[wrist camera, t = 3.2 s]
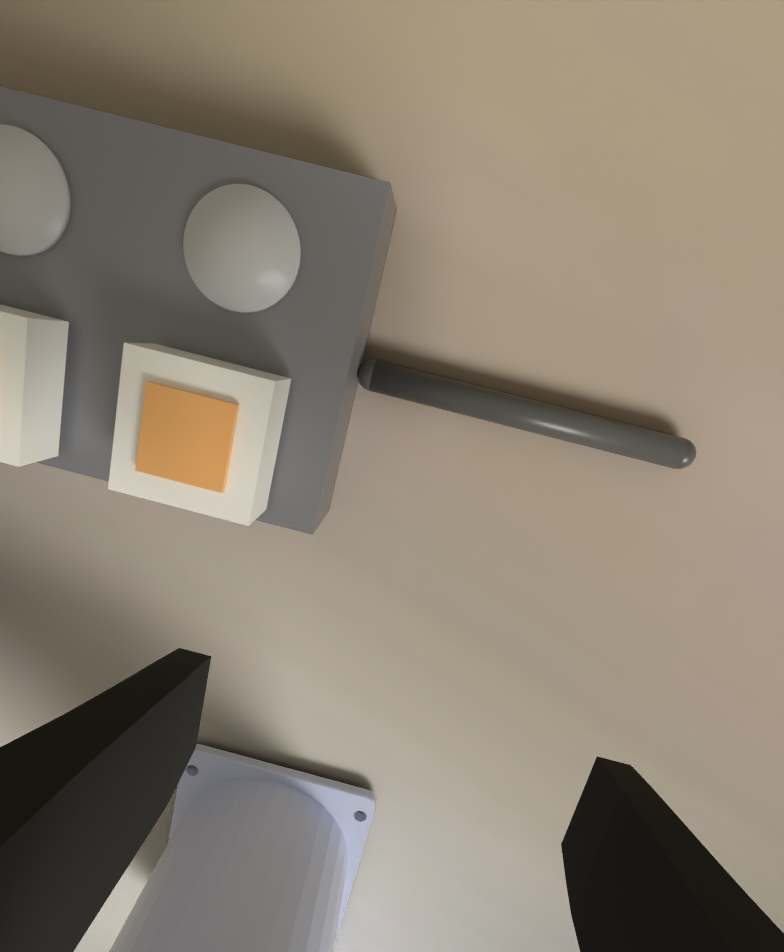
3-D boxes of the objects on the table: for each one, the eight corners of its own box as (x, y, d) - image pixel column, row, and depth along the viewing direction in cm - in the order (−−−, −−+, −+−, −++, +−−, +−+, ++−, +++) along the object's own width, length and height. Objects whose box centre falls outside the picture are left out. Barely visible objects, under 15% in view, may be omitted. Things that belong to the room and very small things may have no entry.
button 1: (266, 509, 15) (246, 528, 14) (138, 476, 15) (103, 491, 14) (291, 378, 14) (272, 381, 13) (155, 343, 14) (118, 342, 13)
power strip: (631, 589, 18) (665, 629, 15) (-204, 371, 18) (-310, 373, 16) (748, 296, 15) (813, 285, 13) (-221, 55, 16) (-349, -4, 13)
